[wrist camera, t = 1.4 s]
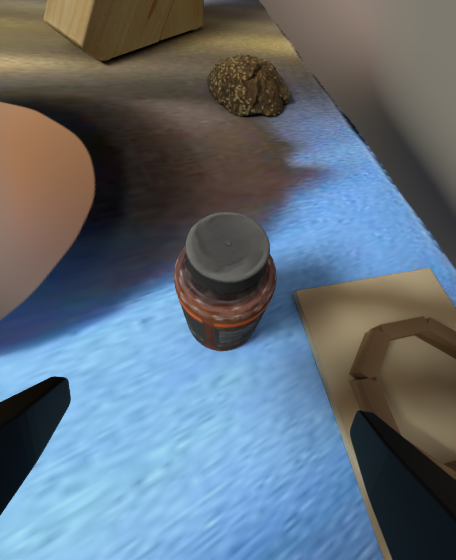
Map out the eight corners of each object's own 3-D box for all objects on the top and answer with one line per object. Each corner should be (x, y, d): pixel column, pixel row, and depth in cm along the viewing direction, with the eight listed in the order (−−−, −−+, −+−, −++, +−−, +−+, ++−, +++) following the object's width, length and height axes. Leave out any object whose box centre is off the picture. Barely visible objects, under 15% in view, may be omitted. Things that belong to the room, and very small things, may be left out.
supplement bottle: (268, 317, 21) (318, 245, 11) (222, 368, 19) (231, 335, 9) (221, 275, 23) (227, 179, 13) (173, 318, 21) (135, 242, 11)
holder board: (585, 534, 16) (650, 558, 13) (400, 606, 14) (437, 648, 12) (421, 272, 24) (443, 259, 22) (292, 294, 22) (301, 282, 20)
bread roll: (201, 80, 39) (200, 39, 35) (270, 73, 42) (277, 34, 37) (224, 126, 34) (226, 85, 30) (301, 115, 36) (314, 76, 32)
